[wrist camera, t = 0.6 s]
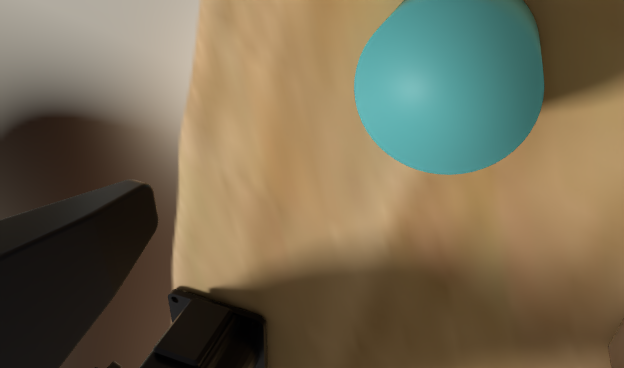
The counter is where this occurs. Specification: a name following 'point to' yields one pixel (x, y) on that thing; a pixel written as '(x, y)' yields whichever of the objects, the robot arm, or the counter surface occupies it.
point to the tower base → (617, 348)
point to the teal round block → (451, 83)
